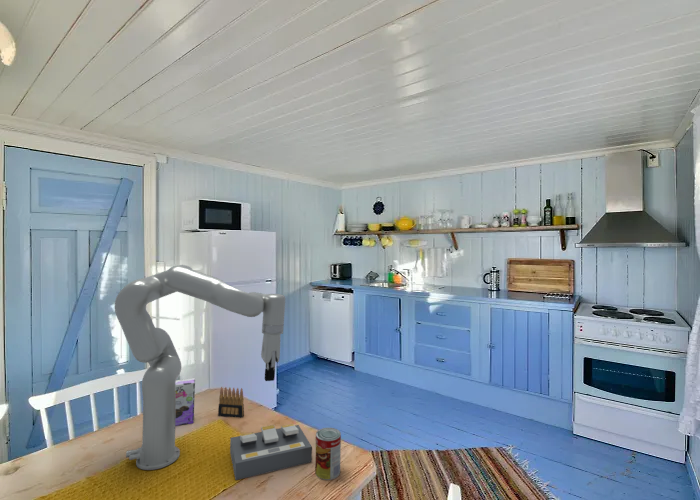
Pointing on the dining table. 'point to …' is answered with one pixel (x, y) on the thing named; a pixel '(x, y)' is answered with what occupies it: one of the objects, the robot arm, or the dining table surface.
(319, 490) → the dining table surface
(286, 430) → the rocker right
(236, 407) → the ammunition clip
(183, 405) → the candy box
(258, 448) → the switch unit
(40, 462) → the dining table surface
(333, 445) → the canned food
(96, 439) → the dining table surface
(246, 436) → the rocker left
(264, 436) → the rocker middle
